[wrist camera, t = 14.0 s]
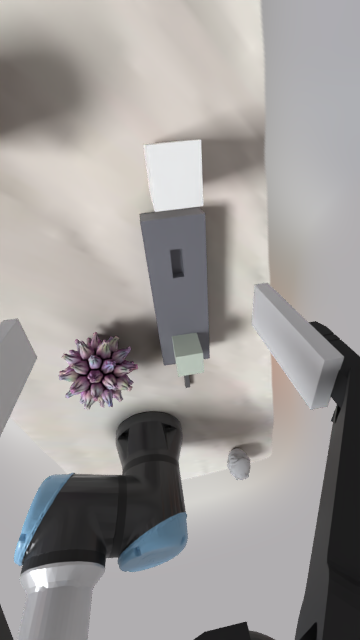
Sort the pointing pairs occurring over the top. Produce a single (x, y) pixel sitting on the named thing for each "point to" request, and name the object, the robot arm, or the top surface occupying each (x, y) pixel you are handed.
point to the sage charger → (188, 354)
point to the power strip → (178, 276)
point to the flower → (98, 371)
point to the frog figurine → (238, 464)
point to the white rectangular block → (174, 174)
